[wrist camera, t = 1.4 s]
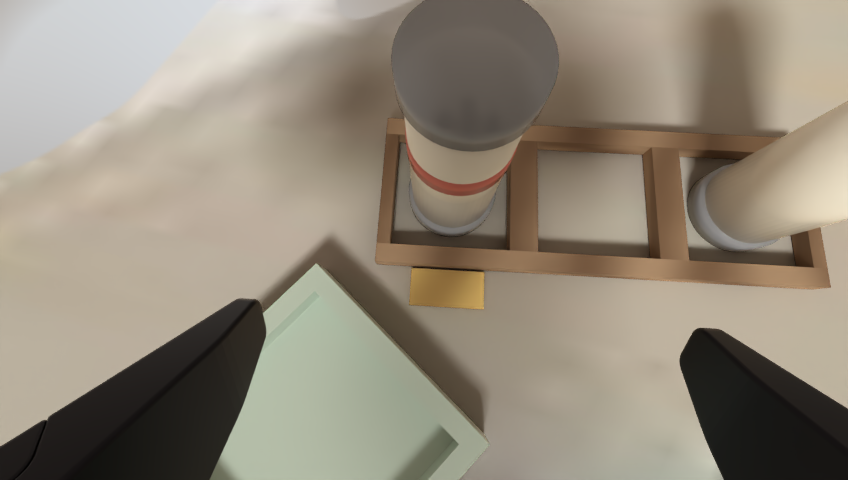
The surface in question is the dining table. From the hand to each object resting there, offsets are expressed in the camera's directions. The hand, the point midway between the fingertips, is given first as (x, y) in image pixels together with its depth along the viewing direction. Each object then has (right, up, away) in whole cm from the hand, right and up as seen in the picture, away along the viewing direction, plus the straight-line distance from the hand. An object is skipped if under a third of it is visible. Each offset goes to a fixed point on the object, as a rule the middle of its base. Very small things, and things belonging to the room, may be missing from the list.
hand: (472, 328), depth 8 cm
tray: (-6, -8, +12) cm, 16 cm away
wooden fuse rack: (+9, +3, +14) cm, 17 cm away
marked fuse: (+1, +4, +15) cm, 15 cm away
